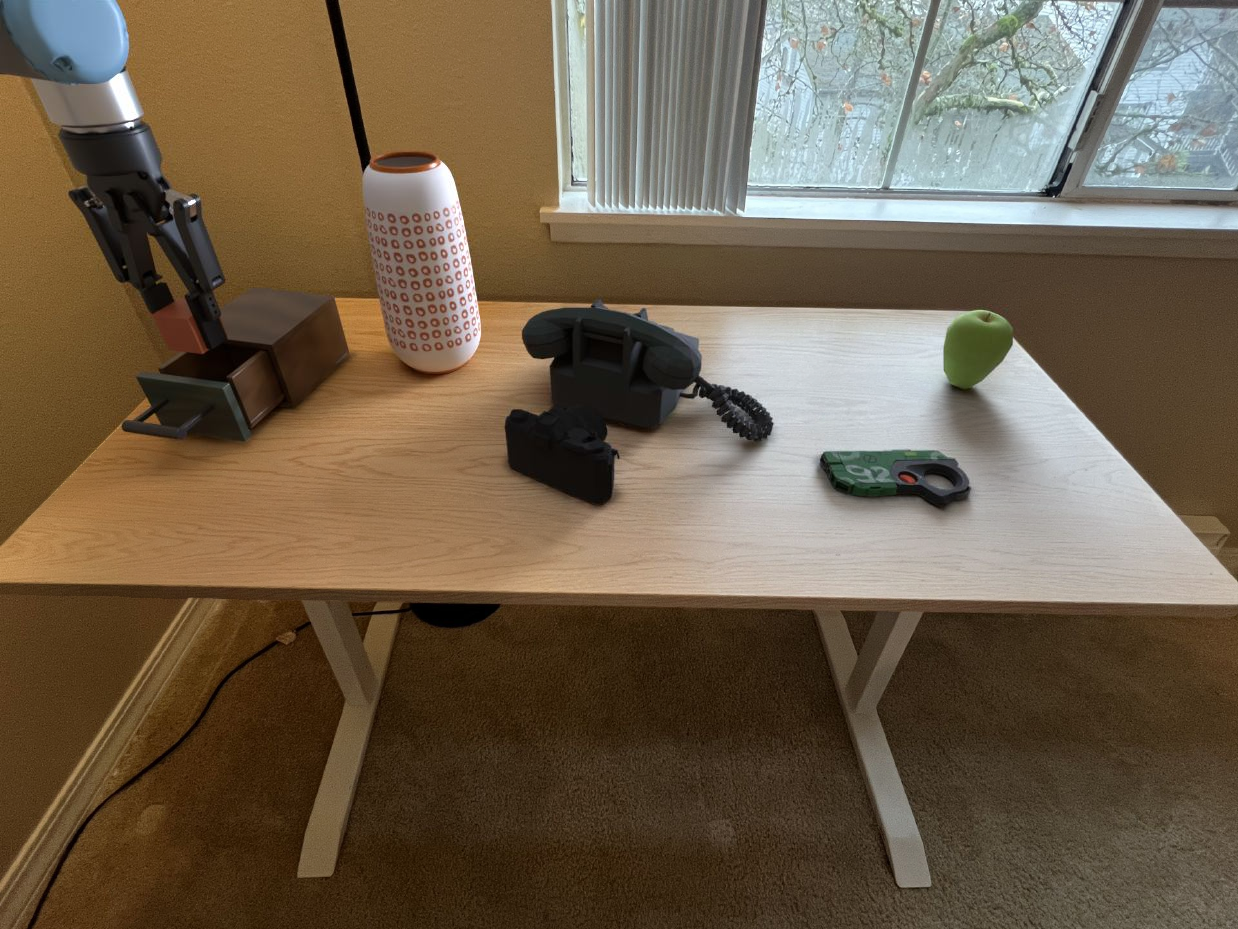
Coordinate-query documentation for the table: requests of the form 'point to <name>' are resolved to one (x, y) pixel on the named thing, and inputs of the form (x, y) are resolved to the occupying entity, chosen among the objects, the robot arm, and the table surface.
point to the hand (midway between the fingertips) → (197, 340)
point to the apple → (975, 347)
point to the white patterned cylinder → (421, 261)
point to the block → (180, 328)
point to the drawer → (209, 394)
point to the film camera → (563, 450)
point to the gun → (894, 473)
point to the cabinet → (289, 336)
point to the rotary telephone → (630, 368)
